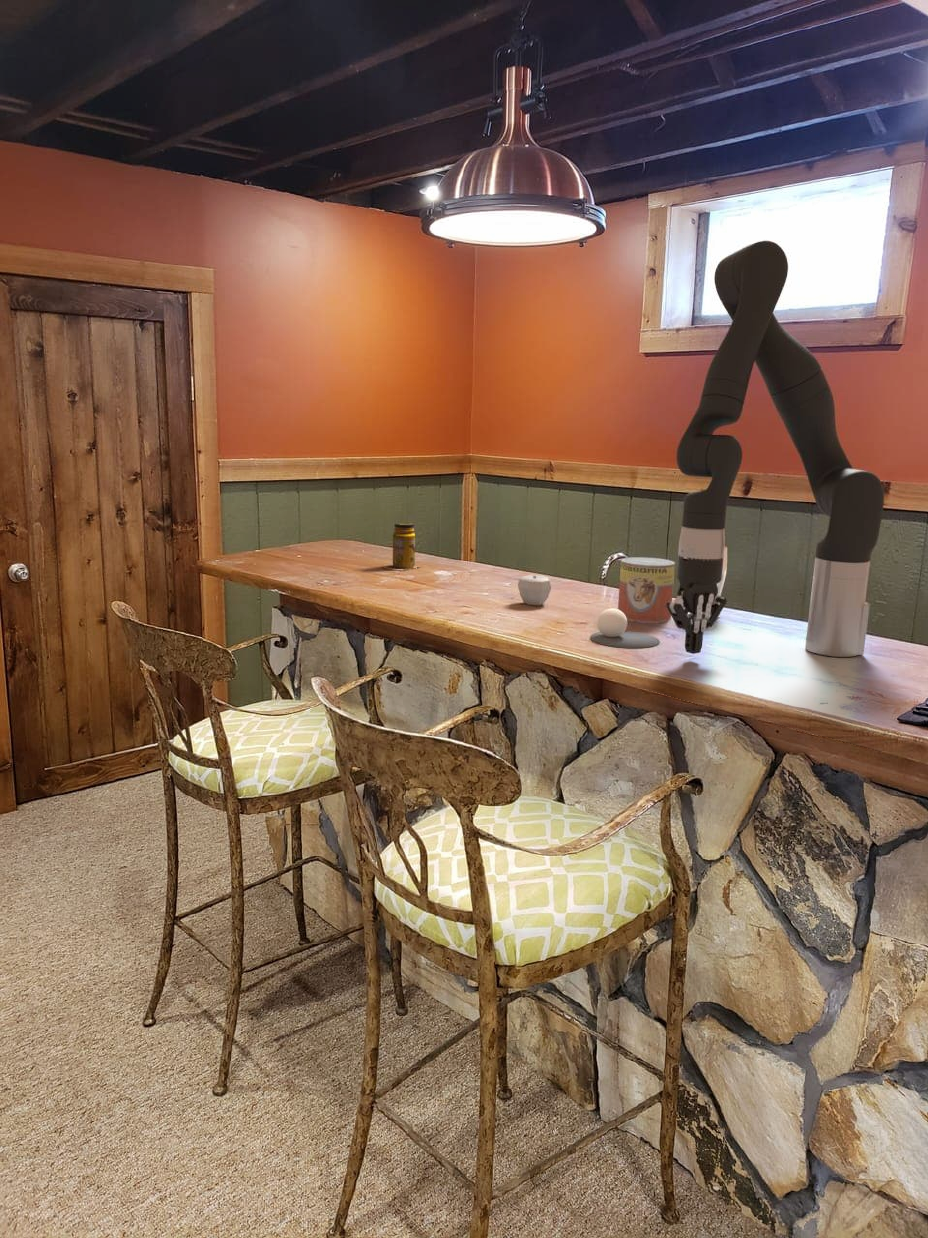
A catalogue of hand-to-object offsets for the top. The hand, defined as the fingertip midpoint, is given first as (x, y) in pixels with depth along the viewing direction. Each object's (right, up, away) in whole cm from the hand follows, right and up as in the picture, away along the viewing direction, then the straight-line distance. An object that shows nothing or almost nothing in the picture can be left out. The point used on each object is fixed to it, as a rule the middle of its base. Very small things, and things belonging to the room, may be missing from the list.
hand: (692, 652), depth 159 cm
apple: (-24, +9, +45) cm, 52 cm away
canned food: (-2, +6, +35) cm, 35 cm away
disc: (-9, +2, +14) cm, 17 cm away
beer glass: (+12, +6, +38) cm, 40 cm away
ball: (-12, +5, +15) cm, 20 cm away
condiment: (-57, +20, +89) cm, 108 cm away
